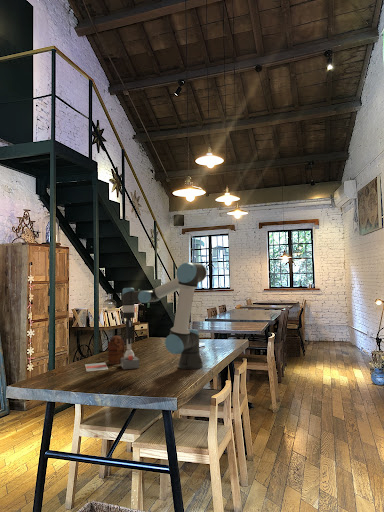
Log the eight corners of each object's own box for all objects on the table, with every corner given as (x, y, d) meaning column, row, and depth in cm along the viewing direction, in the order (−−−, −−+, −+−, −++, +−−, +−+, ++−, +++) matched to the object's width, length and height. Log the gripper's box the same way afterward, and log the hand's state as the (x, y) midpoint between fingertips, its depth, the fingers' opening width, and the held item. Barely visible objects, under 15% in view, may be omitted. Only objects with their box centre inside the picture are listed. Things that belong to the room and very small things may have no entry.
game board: (108, 369, 233) (108, 368, 233) (86, 371, 229) (86, 371, 229) (105, 362, 254) (105, 362, 254) (85, 364, 250) (85, 364, 250)
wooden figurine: (114, 364, 247) (113, 337, 248) (107, 364, 250) (106, 336, 251) (126, 361, 257) (126, 334, 258) (119, 360, 260) (119, 334, 261)
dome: (135, 358, 239) (135, 349, 239) (124, 359, 237) (124, 350, 237) (133, 356, 245) (133, 348, 245) (123, 357, 243) (123, 349, 243)
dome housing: (139, 367, 235) (139, 355, 236) (123, 369, 232) (123, 357, 232) (136, 364, 246) (135, 352, 247) (120, 365, 243) (120, 354, 244)
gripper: (121, 311, 248) (121, 347, 246) (124, 312, 236) (124, 351, 234) (132, 311, 251) (133, 347, 249) (136, 312, 238) (136, 350, 236)
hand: (129, 348), depth 241 cm, fingers closed
